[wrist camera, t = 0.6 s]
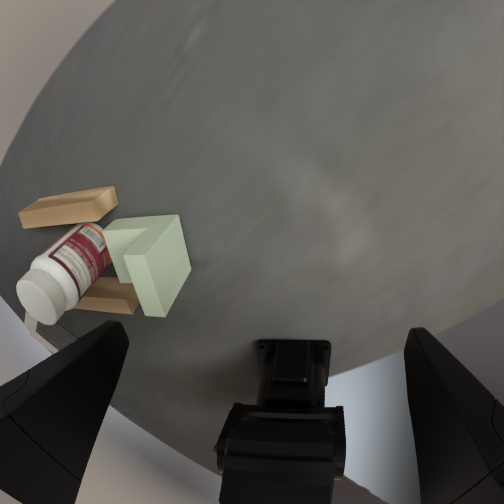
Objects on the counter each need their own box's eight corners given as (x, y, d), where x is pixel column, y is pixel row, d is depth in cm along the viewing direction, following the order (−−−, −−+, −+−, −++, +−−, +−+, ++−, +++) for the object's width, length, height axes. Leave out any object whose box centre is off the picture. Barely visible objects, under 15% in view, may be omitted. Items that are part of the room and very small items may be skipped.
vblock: (92, 353, 34) (81, 371, 31) (59, 346, 35) (48, 361, 32) (52, 278, 28) (35, 294, 26) (20, 276, 29) (5, 290, 27)
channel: (146, 292, 26) (132, 314, 24) (73, 287, 28) (58, 306, 26) (113, 185, 22) (91, 201, 19) (39, 198, 23) (18, 212, 21)
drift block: (191, 269, 24) (165, 317, 19) (131, 269, 25) (99, 311, 20) (178, 214, 22) (144, 255, 17) (115, 219, 23) (75, 256, 18)
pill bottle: (81, 266, 26) (29, 324, 19) (66, 220, 24) (3, 273, 17) (122, 268, 26) (70, 335, 18) (107, 218, 23) (42, 278, 16)
